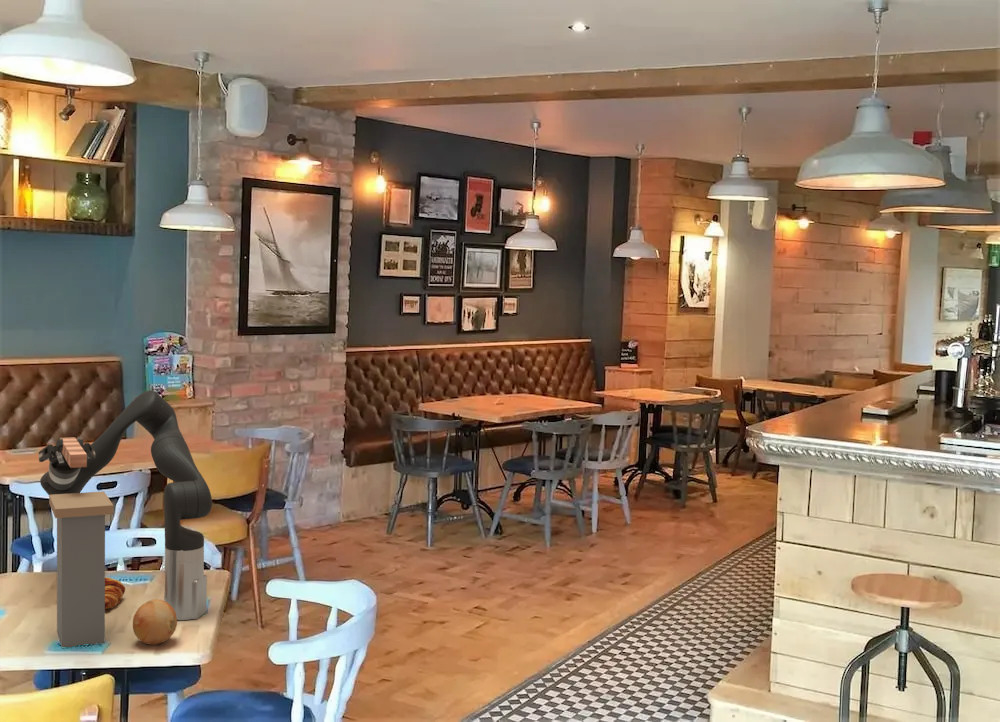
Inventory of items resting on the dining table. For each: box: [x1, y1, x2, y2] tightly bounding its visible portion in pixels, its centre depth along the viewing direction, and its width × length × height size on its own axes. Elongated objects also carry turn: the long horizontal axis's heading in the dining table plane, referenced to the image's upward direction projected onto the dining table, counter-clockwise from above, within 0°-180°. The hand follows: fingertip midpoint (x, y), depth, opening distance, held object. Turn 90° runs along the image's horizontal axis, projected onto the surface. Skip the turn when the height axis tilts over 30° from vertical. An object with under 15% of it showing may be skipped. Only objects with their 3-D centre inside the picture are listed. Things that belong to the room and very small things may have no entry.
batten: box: [59, 436, 87, 468], centre depth 252 cm, size 26×4×3 cm, turn 28°
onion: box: [132, 598, 178, 646], centre depth 237 cm, size 10×10×10 cm
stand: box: [48, 491, 114, 648], centre depth 239 cm, size 16×12×32 cm
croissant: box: [105, 576, 126, 610], centre depth 266 cm, size 21×10×8 cm, turn 25°
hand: (70, 442), depth 256 cm, fingers closed on batten, 3 cm apart
